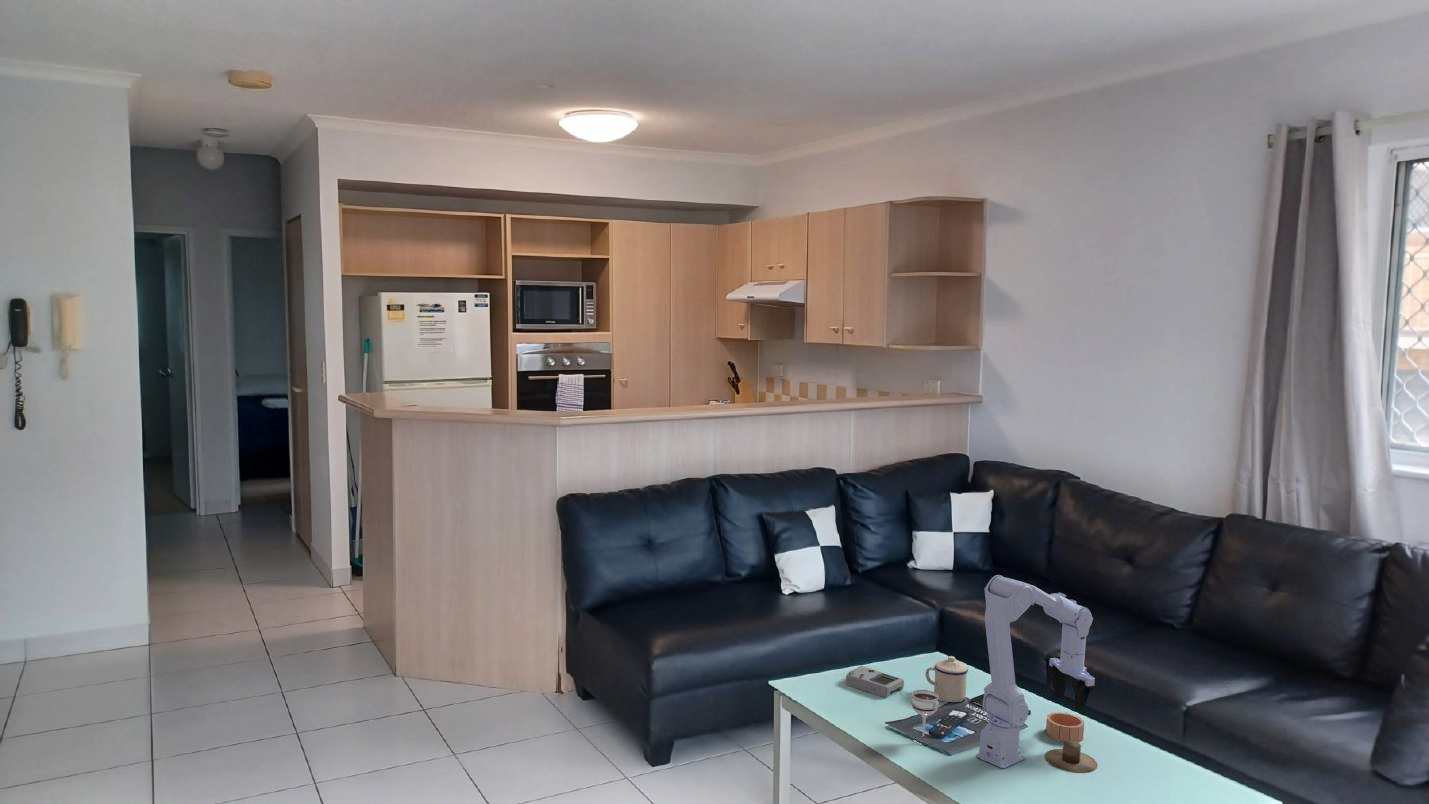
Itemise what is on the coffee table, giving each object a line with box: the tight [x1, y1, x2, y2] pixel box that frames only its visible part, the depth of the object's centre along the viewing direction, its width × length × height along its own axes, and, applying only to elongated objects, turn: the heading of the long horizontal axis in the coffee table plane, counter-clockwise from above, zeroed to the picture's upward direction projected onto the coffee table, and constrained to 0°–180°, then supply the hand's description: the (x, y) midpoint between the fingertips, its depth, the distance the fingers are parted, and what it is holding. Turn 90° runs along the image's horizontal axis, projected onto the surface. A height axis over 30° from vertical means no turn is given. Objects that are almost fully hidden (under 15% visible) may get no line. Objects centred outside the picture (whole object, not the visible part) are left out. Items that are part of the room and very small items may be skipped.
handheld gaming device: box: [845, 665, 905, 699], centre depth 274 cm, size 9×15×4 cm, turn 47°
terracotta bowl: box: [1045, 711, 1085, 743], centre depth 246 cm, size 9×9×4 cm
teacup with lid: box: [925, 655, 969, 703], centre depth 269 cm, size 12×9×12 cm
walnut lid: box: [1044, 741, 1098, 774], centre depth 231 cm, size 12×12×5 cm
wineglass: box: [910, 689, 940, 747], centre depth 240 cm, size 7×7×12 cm
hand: (1069, 703), depth 243 cm, fingers open, 7 cm apart
